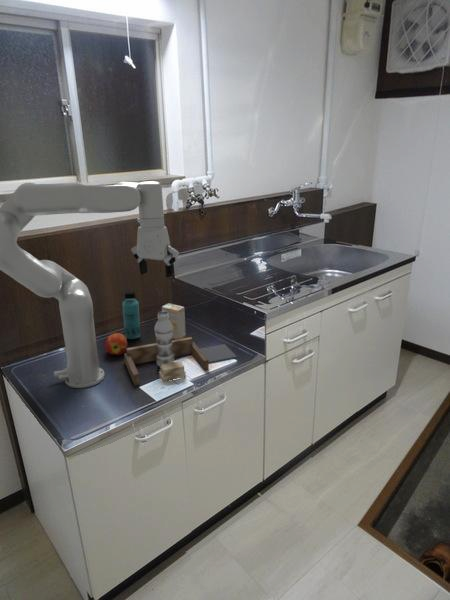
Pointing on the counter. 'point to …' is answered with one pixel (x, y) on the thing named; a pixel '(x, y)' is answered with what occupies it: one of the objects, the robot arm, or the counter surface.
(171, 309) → the supplement box
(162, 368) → the top offcut
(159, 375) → the bottom offcut
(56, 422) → the counter surface
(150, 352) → the frame
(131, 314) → the beverage bottle
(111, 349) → the apple
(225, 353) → the mat
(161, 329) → the plastic bottle
